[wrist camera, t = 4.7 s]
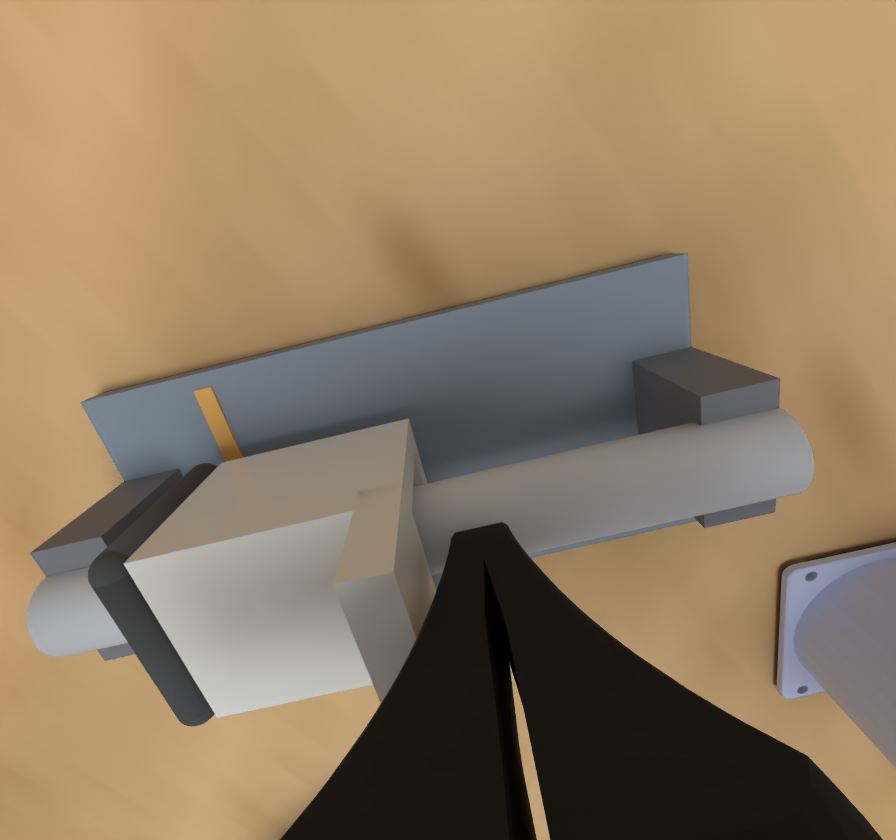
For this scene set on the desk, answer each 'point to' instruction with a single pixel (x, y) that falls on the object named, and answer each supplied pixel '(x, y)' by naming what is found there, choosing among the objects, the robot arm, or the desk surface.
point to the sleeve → (294, 571)
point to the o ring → (135, 612)
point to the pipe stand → (465, 428)
